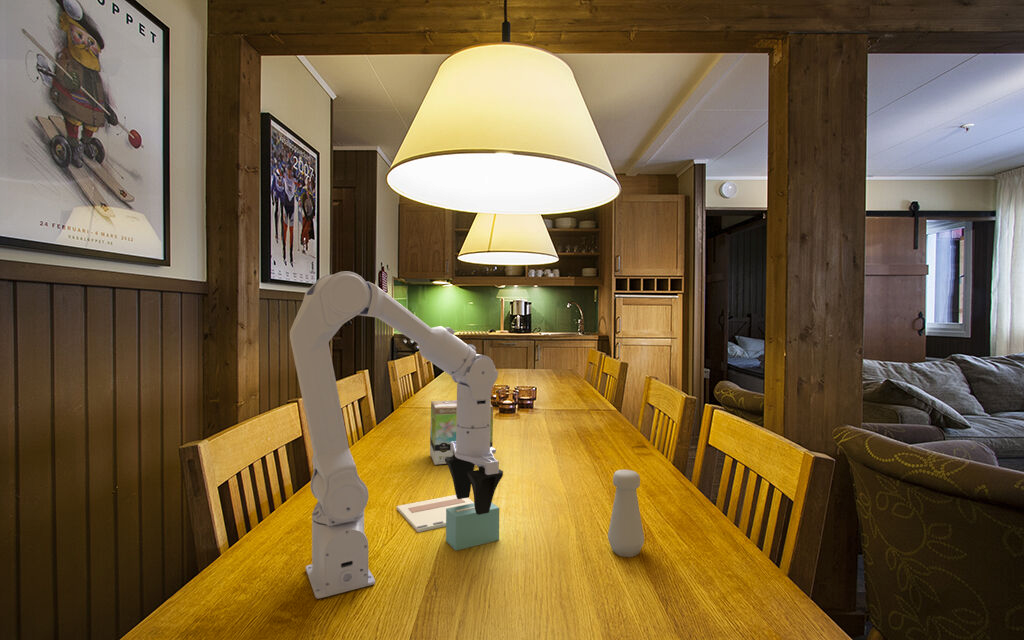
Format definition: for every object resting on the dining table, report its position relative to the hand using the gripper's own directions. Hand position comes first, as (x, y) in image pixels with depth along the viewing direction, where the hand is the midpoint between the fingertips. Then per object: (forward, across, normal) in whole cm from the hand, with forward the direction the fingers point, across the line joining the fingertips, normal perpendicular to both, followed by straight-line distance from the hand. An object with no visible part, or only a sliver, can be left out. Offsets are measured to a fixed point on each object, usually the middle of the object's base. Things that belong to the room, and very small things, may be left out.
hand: (472, 505), depth 86 cm
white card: (+6, +14, 0) cm, 15 cm away
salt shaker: (+6, -16, -20) cm, 26 cm away
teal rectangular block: (+6, 0, 0) cm, 6 cm away
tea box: (+6, +44, -18) cm, 48 cm away
